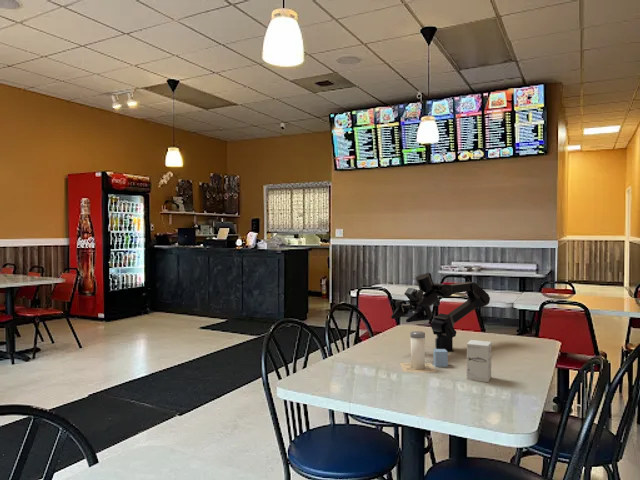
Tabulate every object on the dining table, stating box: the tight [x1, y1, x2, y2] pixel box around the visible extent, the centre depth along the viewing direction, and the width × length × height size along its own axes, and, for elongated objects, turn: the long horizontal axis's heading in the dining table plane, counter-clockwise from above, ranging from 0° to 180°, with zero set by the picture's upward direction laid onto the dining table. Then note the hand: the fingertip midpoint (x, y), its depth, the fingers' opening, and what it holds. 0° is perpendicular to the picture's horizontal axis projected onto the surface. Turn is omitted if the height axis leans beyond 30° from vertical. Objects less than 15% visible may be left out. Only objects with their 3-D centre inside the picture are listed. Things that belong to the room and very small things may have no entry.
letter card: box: [399, 362, 438, 373], centre depth 182 cm, size 12×12×1 cm
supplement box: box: [466, 339, 493, 383], centre depth 169 cm, size 7×7×13 cm
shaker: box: [409, 330, 426, 369], centre depth 182 cm, size 5×5×13 cm
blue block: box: [432, 348, 449, 368], centre depth 185 cm, size 4×4×6 cm
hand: (398, 319), depth 198 cm, fingers open, 9 cm apart
